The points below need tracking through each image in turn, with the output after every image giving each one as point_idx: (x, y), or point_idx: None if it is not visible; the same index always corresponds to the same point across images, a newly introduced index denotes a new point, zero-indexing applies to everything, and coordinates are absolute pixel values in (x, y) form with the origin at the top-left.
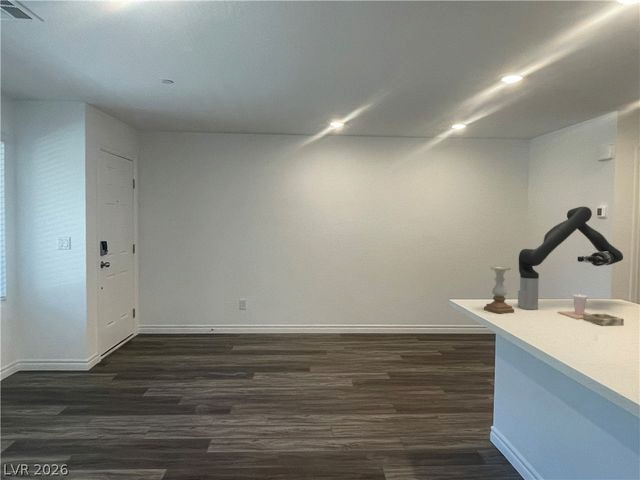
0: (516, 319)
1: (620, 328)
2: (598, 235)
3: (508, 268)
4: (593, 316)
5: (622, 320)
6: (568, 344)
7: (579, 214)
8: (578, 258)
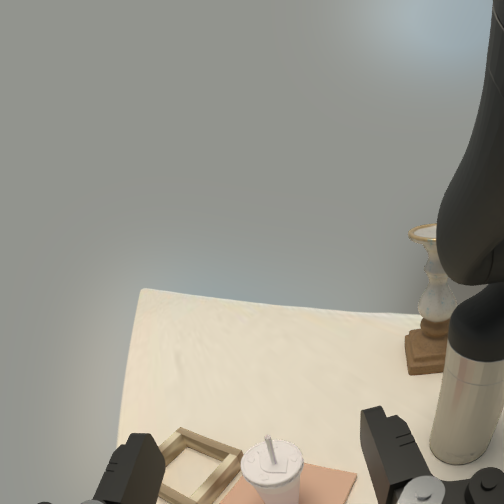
0: (345, 346)
1: None
2: None
3: (411, 235)
4: (206, 443)
5: None
6: (202, 322)
7: None
8: (392, 417)
